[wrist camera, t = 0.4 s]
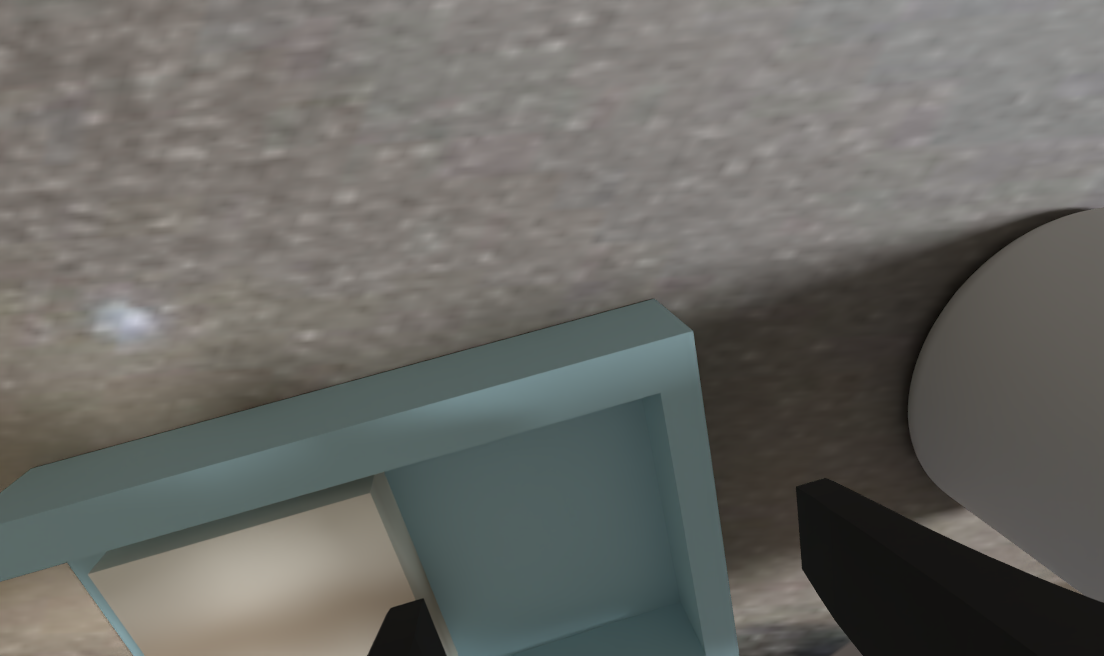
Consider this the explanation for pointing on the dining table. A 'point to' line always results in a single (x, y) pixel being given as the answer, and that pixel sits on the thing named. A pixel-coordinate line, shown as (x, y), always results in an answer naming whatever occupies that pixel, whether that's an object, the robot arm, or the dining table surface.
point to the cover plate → (273, 579)
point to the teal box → (457, 487)
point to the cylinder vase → (1024, 397)
